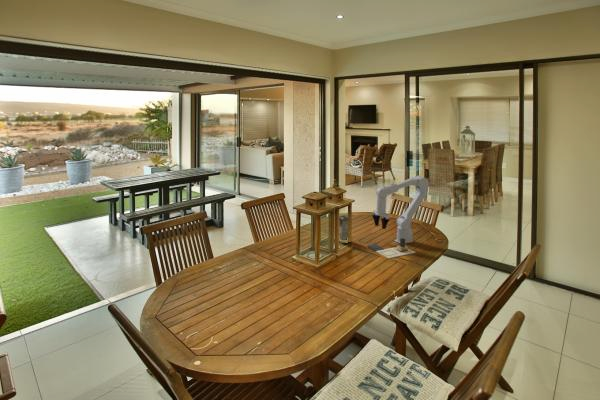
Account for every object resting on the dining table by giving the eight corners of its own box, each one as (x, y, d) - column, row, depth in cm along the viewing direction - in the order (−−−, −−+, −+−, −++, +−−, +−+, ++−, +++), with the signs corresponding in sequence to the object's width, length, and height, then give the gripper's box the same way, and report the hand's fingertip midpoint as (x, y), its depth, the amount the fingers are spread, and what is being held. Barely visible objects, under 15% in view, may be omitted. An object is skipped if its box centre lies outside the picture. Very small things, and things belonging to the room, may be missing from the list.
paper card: (402, 246, 226) (402, 245, 225) (415, 252, 215) (415, 252, 215) (375, 251, 218) (375, 250, 218) (388, 258, 207) (388, 257, 207)
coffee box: (335, 239, 240) (336, 216, 236) (344, 238, 242) (345, 215, 238) (341, 244, 232) (341, 220, 228) (350, 242, 233) (350, 219, 230)
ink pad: (376, 245, 228) (376, 243, 227) (383, 249, 222) (383, 247, 221) (367, 247, 225) (367, 245, 225) (373, 251, 219) (373, 248, 218)
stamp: (403, 248, 221) (404, 237, 219) (407, 250, 217) (408, 239, 215) (396, 249, 219) (397, 238, 218) (400, 252, 215) (401, 240, 214)
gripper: (369, 204, 232) (368, 224, 236) (383, 209, 220) (382, 231, 223) (378, 203, 235) (377, 223, 238) (392, 208, 222) (391, 229, 225)
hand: (380, 227), depth 231 cm, fingers open, 7 cm apart
